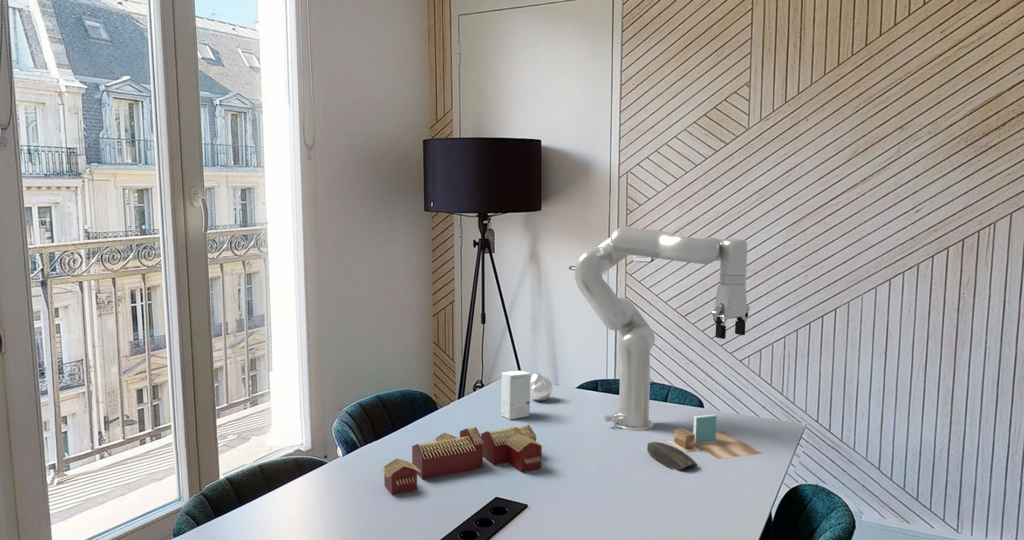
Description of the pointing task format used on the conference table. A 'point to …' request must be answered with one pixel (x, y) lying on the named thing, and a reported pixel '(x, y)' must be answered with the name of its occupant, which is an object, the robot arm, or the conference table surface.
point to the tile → (705, 428)
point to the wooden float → (684, 440)
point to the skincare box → (515, 394)
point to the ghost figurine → (540, 387)
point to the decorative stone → (669, 456)
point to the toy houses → (464, 456)
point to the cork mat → (727, 447)
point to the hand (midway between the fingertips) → (730, 336)
